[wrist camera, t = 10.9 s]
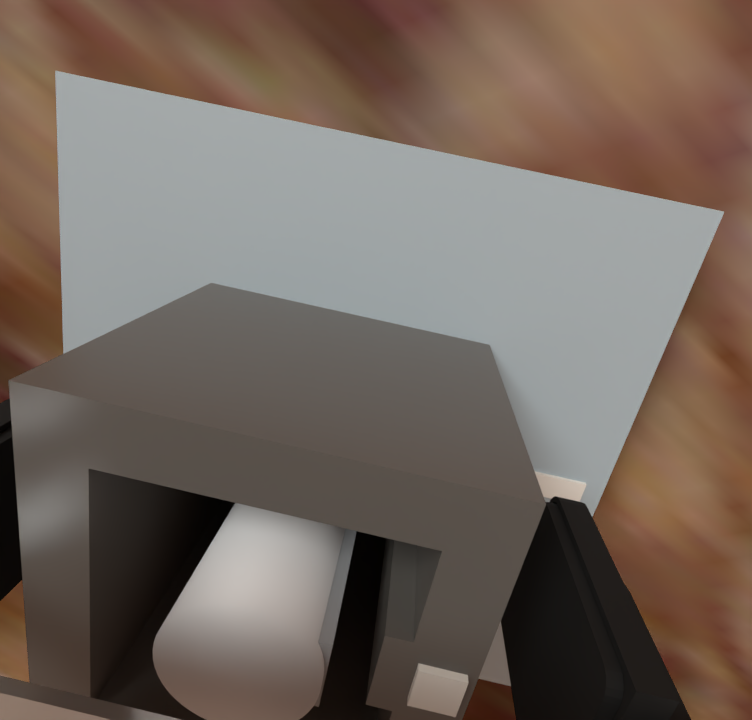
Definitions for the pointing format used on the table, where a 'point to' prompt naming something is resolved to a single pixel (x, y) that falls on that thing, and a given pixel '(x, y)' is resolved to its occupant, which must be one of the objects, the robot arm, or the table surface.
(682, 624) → the table surface
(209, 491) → the square tunnel housing
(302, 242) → the shaft base
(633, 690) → the robot arm
